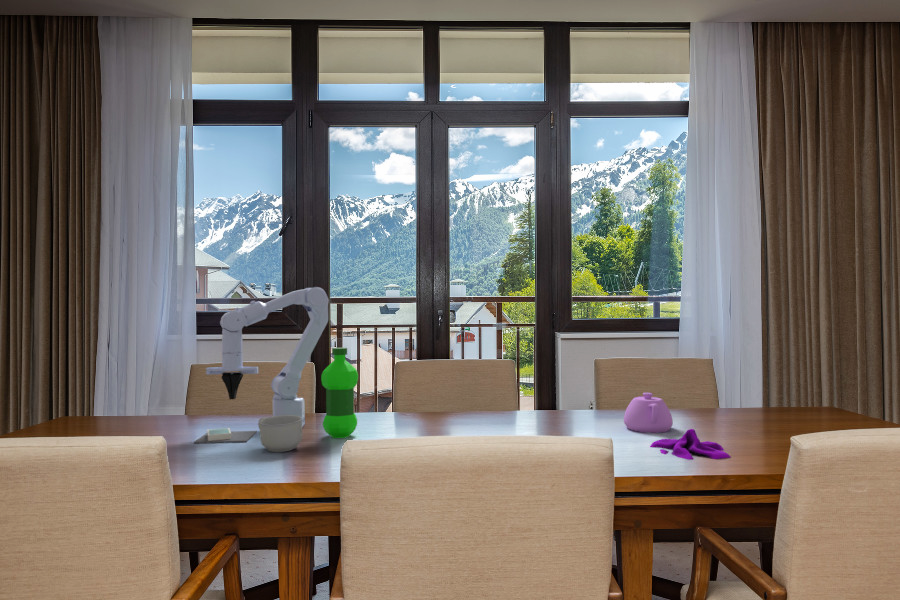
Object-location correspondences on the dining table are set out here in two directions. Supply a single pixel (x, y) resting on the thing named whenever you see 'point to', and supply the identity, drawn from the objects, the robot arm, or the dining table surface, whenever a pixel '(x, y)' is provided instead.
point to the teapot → (648, 414)
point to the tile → (218, 434)
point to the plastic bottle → (339, 395)
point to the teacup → (280, 432)
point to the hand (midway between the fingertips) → (232, 398)
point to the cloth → (690, 447)
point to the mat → (235, 437)
